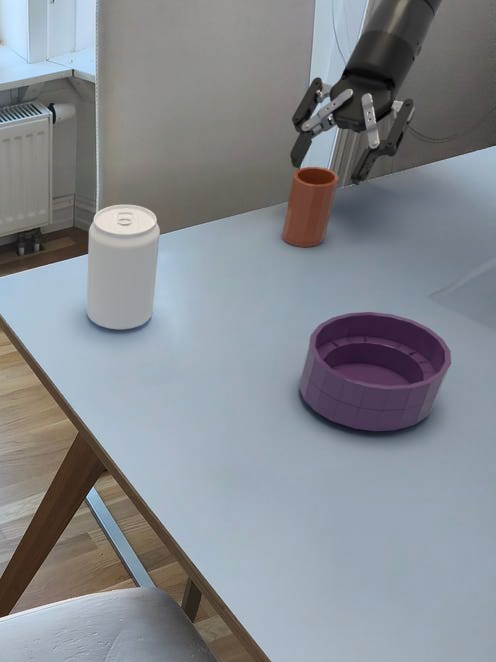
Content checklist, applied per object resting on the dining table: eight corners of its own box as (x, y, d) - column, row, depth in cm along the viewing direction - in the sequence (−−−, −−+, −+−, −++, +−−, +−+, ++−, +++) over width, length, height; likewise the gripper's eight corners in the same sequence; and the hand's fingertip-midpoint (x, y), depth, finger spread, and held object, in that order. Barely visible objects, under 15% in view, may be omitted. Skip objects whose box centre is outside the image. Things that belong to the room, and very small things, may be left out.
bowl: (352, 345, 103) (366, 297, 99) (458, 400, 96) (479, 352, 91) (271, 393, 98) (281, 345, 93) (376, 455, 91) (394, 406, 86)
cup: (299, 223, 122) (312, 162, 116) (332, 238, 119) (347, 176, 113) (272, 236, 120) (284, 175, 114) (305, 251, 117) (319, 190, 111)
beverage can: (83, 332, 107) (86, 235, 98) (89, 297, 112) (92, 201, 103) (150, 335, 106) (159, 237, 97) (153, 299, 111) (162, 203, 102)
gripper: (332, 17, 111) (269, 145, 115) (441, 39, 105) (371, 173, 109) (341, 53, 118) (281, 173, 121) (444, 75, 112) (378, 201, 115)
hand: (324, 173), depth 115 cm, fingers open, 8 cm apart
